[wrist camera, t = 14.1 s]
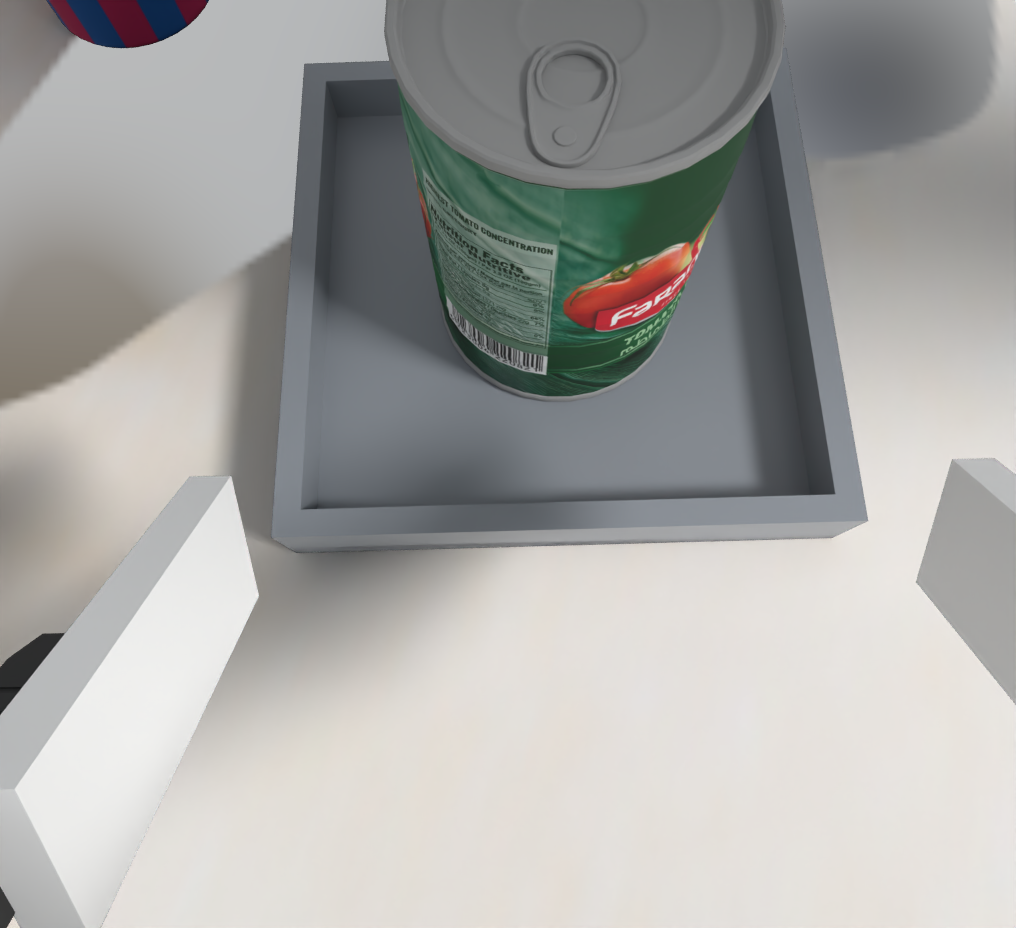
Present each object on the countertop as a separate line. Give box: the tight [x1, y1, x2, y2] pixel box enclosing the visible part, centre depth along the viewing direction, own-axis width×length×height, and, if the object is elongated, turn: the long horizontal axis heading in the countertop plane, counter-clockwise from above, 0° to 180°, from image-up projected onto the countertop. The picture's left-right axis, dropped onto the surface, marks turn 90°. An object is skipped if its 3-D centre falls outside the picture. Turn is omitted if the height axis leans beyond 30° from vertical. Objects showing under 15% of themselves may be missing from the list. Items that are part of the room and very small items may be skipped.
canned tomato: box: [384, 0, 785, 402], centre depth 20 cm, size 8×8×11 cm
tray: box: [271, 48, 868, 553], centre depth 24 cm, size 17×17×2 cm
